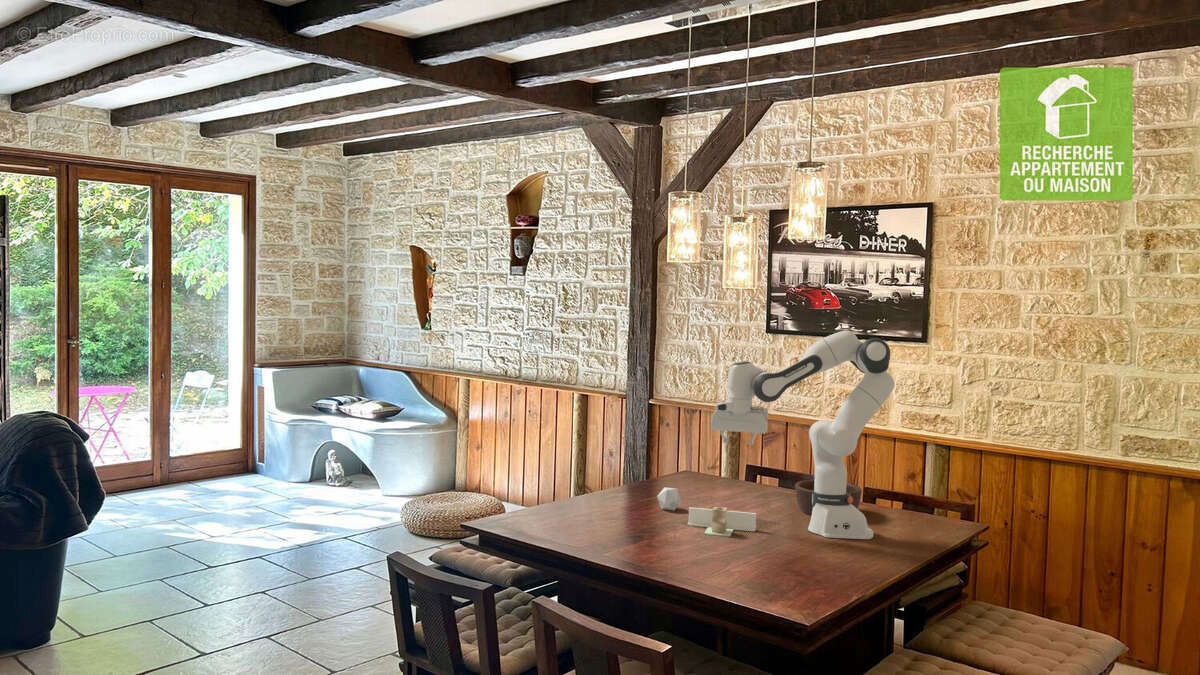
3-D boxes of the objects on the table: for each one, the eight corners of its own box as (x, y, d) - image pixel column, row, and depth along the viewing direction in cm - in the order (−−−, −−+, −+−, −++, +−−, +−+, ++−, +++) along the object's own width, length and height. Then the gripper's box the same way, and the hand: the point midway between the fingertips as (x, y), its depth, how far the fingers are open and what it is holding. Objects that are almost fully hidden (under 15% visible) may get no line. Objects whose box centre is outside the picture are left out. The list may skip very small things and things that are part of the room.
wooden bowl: (868, 521, 339) (869, 494, 338) (801, 519, 339) (802, 492, 339) (851, 505, 364) (852, 480, 363) (788, 504, 364) (789, 478, 364)
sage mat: (733, 530, 320) (733, 529, 320) (730, 536, 311) (730, 535, 311) (707, 527, 322) (708, 526, 322) (704, 534, 314) (704, 533, 314)
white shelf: (756, 528, 323) (756, 512, 323) (754, 531, 319) (755, 514, 319) (689, 522, 329) (690, 506, 329) (687, 525, 325) (688, 508, 325)
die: (666, 514, 343) (682, 494, 343) (649, 499, 348) (665, 479, 348) (673, 518, 351) (689, 497, 351) (656, 503, 355) (672, 483, 355)
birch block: (726, 530, 318) (727, 507, 318) (724, 533, 314) (725, 510, 314) (713, 529, 320) (714, 506, 319) (711, 532, 315) (712, 509, 315)
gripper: (769, 406, 329) (767, 444, 330) (713, 403, 334) (711, 440, 335) (767, 408, 323) (766, 447, 324) (710, 405, 328) (709, 443, 329)
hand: (738, 443), depth 329 cm, fingers open, 8 cm apart
